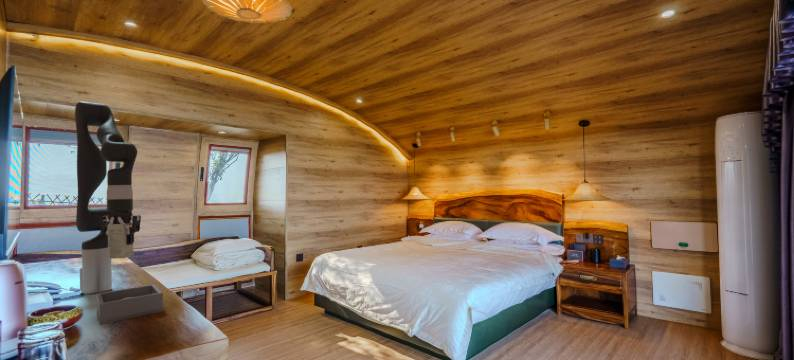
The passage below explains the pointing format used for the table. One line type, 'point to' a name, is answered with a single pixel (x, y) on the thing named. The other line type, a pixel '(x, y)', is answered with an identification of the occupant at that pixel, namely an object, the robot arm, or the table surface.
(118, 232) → the skincare box
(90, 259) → the robot arm
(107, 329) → the table surface
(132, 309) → the walled box
